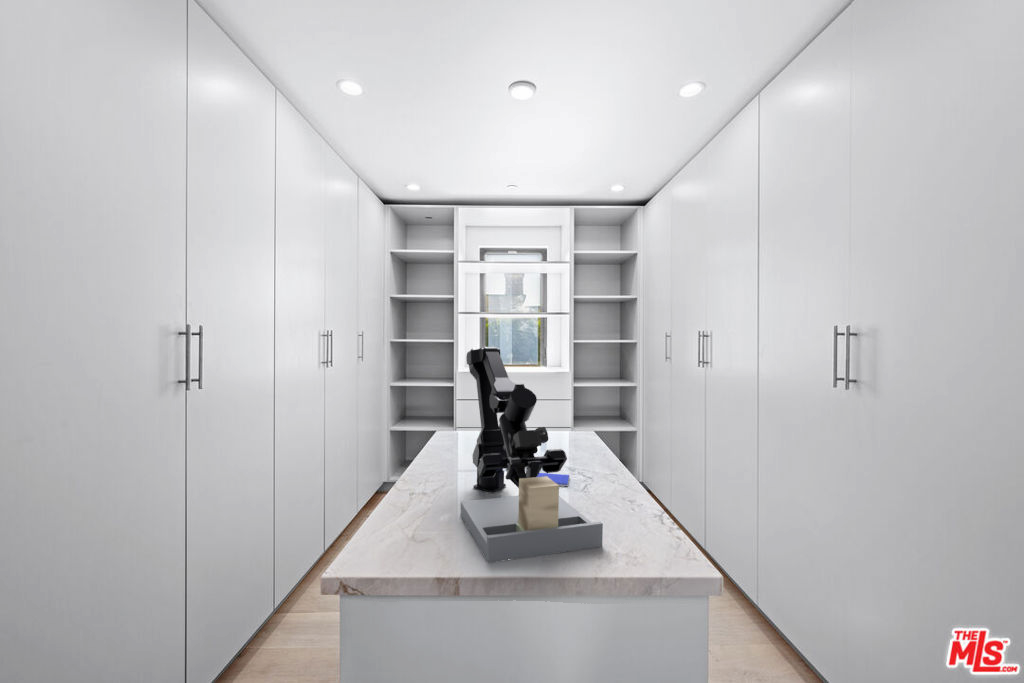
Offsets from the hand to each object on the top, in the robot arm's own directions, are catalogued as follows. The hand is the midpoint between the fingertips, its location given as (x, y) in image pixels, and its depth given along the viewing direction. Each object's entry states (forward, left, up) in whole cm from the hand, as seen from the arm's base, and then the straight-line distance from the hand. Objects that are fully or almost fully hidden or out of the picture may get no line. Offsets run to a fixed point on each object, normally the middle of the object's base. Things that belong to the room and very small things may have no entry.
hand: (532, 500), depth 94 cm
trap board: (-2, +2, -7) cm, 8 cm away
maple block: (+3, -2, -4) cm, 5 cm away
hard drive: (-14, +34, -8) cm, 38 cm away
